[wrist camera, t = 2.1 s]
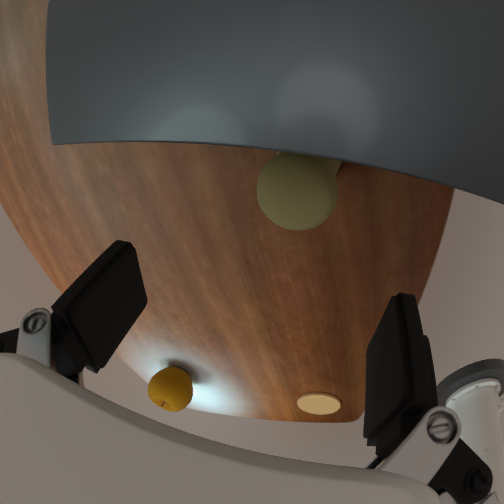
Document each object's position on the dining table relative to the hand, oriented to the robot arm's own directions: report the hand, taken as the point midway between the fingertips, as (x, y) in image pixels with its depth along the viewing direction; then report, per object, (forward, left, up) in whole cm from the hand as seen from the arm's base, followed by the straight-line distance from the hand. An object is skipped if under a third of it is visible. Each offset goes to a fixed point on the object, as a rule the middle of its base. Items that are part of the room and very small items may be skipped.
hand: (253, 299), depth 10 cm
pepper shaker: (0, 0, -20) cm, 20 cm away
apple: (+18, +43, -20) cm, 51 cm away
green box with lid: (0, -8, -20) cm, 21 cm away
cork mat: (-9, +42, -20) cm, 47 cm away
